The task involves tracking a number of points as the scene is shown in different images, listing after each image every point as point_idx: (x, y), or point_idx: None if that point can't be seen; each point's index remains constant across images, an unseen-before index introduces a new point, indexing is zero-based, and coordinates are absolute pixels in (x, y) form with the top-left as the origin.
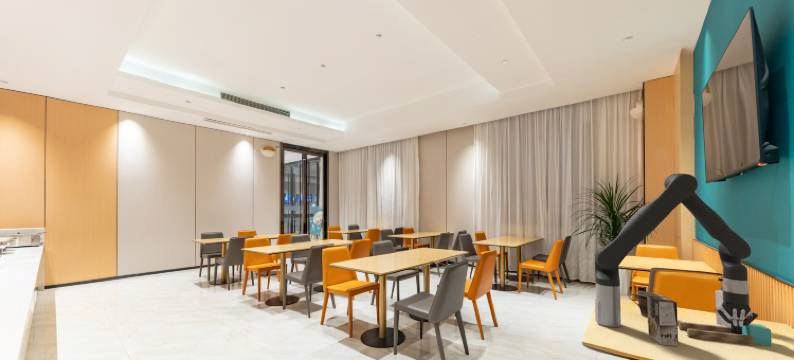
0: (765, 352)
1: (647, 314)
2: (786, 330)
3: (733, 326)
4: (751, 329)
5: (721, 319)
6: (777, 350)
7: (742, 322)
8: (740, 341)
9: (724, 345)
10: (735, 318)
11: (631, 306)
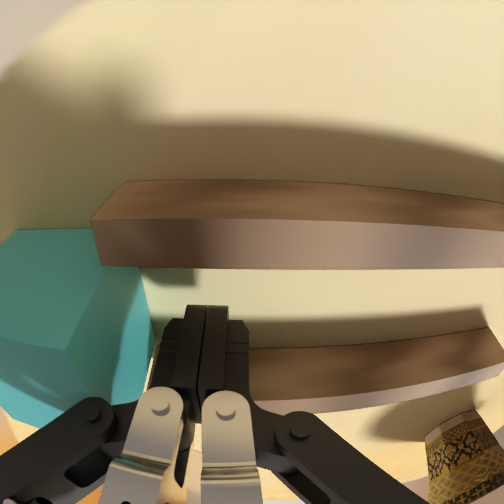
0: (113, 6)
1: (479, 418)
2: (8, 418)
3: (243, 387)
4: (65, 328)
5: (194, 475)
6: (4, 136)
7: (133, 438)
8: (237, 188)
9: (432, 79)
10: (229, 495)
11: (424, 463)
